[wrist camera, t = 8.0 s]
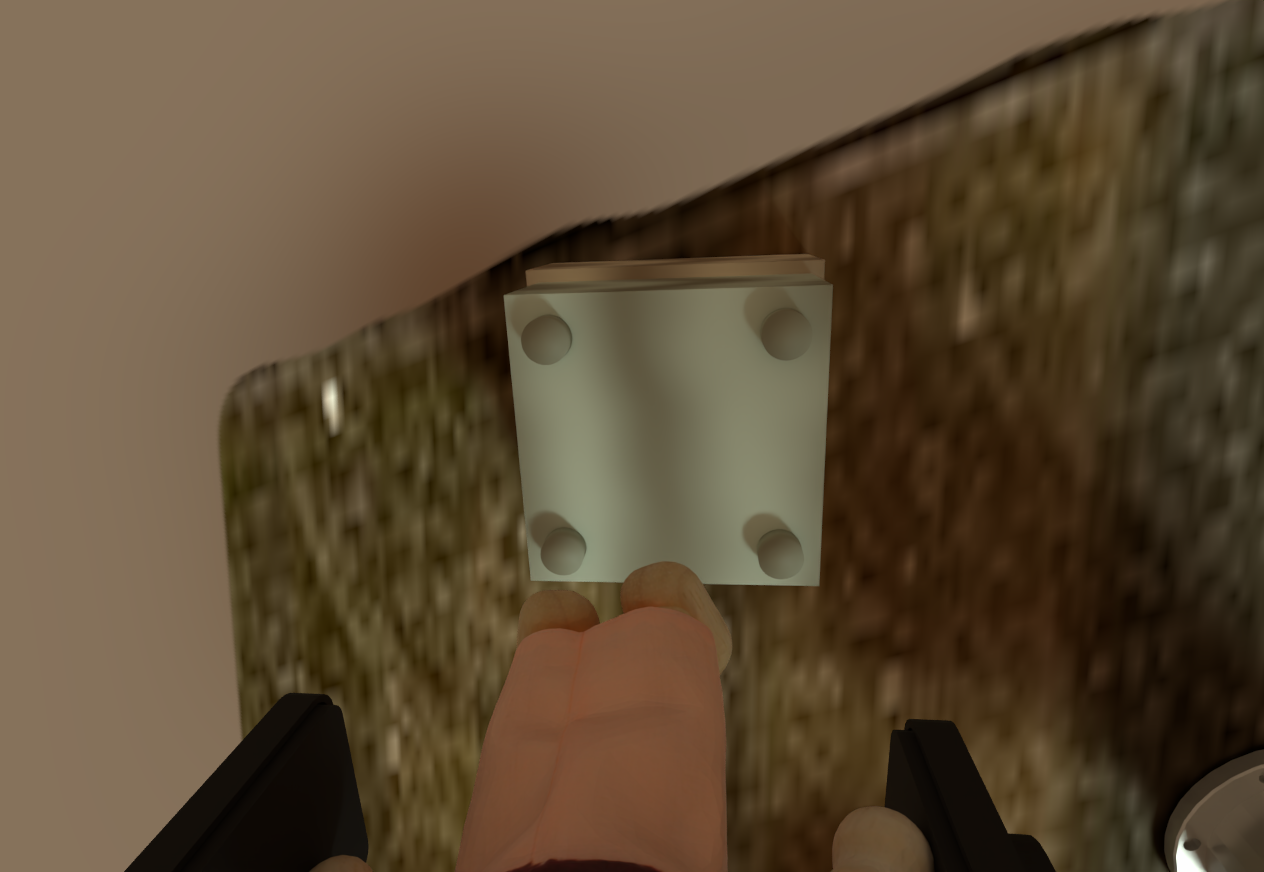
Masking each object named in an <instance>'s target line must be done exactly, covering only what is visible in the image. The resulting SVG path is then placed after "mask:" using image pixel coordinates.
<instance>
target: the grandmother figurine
mask: <svg viewBox="0 0 1264 872" xmlns="http://www.w3.org/2000/svg"><path fill="white" fill-rule="evenodd" d="M620 596H621V605H622V609H623V614H622V615H620V616H618V617H616V618H613V619H611V620H608V621H606V622H603V623H601V624H600V622H599V618H598V615H597V612H596V610H595V608H594V606H593V605H592V604H591V602H590V601H589V600H587V599H586V598H584V597H583V596H581V595H580V594H578V593H576V592H574V591H568V590H546V591H540V592H537V593H535V594H533V595H532V596H531V597H529V598H528V599H527V600H526V602H525V603H524V604H523V606H522V609H521V611H520V616H519V624H518V635H517V647H516V652H515V656H514V659H513V662H512V665H511V668H510V671H509V673H508V676H507V679H506V682H505V684H504V687H503V689H502V692H501V694H500V697H499V699H498V701H497V704H496V706H495V709H494V712H493V715H492V717H491V720H490V723H489V726H488V729H487V732H486V736H485V740H484V744H483V747H482V752H481V757H480V762H479V767H478V771H477V776H476V781H475V785H474V790H473V795H472V799H471V803H470V806H469V810H468V814H467V817H466V821H465V825H464V829H463V834H462V839H461V844H460V849H459V854H458V859H457V864H456V869H455V872H727V807H726V777H725V761H726V726H725V715H724V706H723V693H722V687H721V681H720V675H721V673H722V672H723V671H724V669H725V667H726V665H727V664H728V662H729V659H730V656H731V653H732V638H731V635H730V632H729V630H728V628H727V626H726V624H725V622H724V620H723V618H722V616H721V615H720V613H719V611H718V610H717V608H716V607H715V605H714V603H713V602H712V600H711V598H710V596H709V594H708V592H707V591H706V589H705V587H704V586H703V584H702V582H701V581H700V579H699V578H698V576H697V575H696V574H695V573H694V572H693V571H692V570H690V569H689V568H688V567H686V566H685V565H682V564H679V563H677V562H670V561H661V562H657V563H653V564H650V565H647V566H644V567H641V568H639V569H637V570H634V571H633V572H632V573H631V574H629V576H628V577H627V578H626V579H625V581H624V583H623V586H622V588H621V595H620ZM832 863H833V870H832V871H831V872H935V869H934V858H933V854H932V851H931V847H930V845H929V842H928V841H927V839H926V838H925V836H924V835H923V833H922V832H921V830H920V829H919V828H918V827H917V826H916V825H915V824H914V823H913V822H912V821H911V820H909V819H908V818H907V817H906V816H905V815H903V814H901V813H899V812H897V811H894V810H892V809H889V808H885V807H879V806H871V807H862V808H858V809H856V810H854V811H852V812H851V813H849V814H848V815H847V816H846V817H845V818H844V820H843V821H842V822H841V823H840V825H839V827H838V829H837V831H836V833H835V836H834V840H833V846H832ZM309 872H373V871H372V869H371V868H370V867H369V865H368V864H366V863H365V862H364V861H362V860H361V859H360V858H358V857H354V856H348V855H339V856H334V857H330V858H328V859H327V860H325V861H323V862H321V863H319V864H318V865H316V866H315V867H314V868H313V869H312V870H310V871H309Z"/></svg>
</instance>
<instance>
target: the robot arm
mask: <svg viewBox="0 0 1264 872" xmlns="http://www.w3.org/2000/svg"><path fill="white" fill-rule="evenodd" d="M885 808H889V809H892V810H894V811H897V812H899V813H901V814H903V815H905V816H906V817H907V818H908V819H909V820H911V821H912V822H913V823H914V824H915V825H916V826H917V827H918V828H919V829H920V830H921V832H922V833H923V835H924V836H925V838H926V839H927V841H928V842H929V845H930V847H931V851H932V854H933V858H934V869H935V872H1056V871H1055V869H1054V867H1053V865H1052V864H1051V862H1050V860H1049V858H1048V856H1047V854H1046V853H1045V851H1044V849H1043V848H1042V846H1041V845H1040V843H1039V842H1038V841H1037V840H1036V839H1035V838H1034V837H1032V836H1031V835H1023V834H1008V833H1007V831H1006V828H1005V826H1004V824H1003V822H1002V820H1001V818H1000V816H999V814H998V812H997V810H996V808H995V806H994V804H993V801H992V799H991V797H990V795H989V793H988V791H987V789H986V787H985V785H984V783H983V781H982V779H981V777H980V774H979V772H978V770H977V768H976V766H975V764H974V762H973V760H972V758H971V756H970V754H969V752H968V749H967V747H966V745H965V743H964V741H963V739H962V737H961V735H960V733H959V731H958V729H957V727H956V726H955V724H954V723H953V722H952V721H943V720H919V719H909V720H907V722H906V724H905V729H904V730H893V731H892V733H891V740H890V752H889V763H888V775H887V786H886V797H885ZM1164 852H1165V856H1166V861H1167V865H1168V868H1169V869H1170V871H1171V872H1264V749H1262V750H1258V751H1254V752H1252V753H1249V754H1246V755H1244V756H1241V757H1239V758H1236V759H1233V760H1231V761H1229V762H1227V763H1226V764H1224V765H1222V766H1220V767H1218V768H1217V769H1215V770H1213V771H1211V772H1210V773H1209V774H1207V775H1206V776H1205V777H1204V778H1202V779H1201V780H1200V781H1198V782H1197V783H1196V784H1195V785H1193V787H1192V788H1191V789H1190V790H1189V791H1188V792H1187V793H1186V794H1185V795H1184V796H1183V798H1182V799H1181V800H1180V801H1179V803H1178V805H1177V806H1176V808H1175V810H1174V811H1173V813H1172V815H1171V816H1170V819H1169V822H1168V825H1167V829H1166V832H1165V841H1164ZM339 855H348V856H354V857H358V858H360V859H361V860H362V861H364V862H365V863H366V860H367V855H368V838H367V833H366V828H365V823H364V818H363V813H362V808H361V804H360V799H359V794H358V789H357V784H356V779H355V774H354V769H353V764H352V759H351V754H350V749H349V744H348V739H347V734H346V729H345V724H344V719H343V714H342V711H341V708H340V707H339V706H337V705H333V702H332V699H331V698H330V697H329V696H328V695H325V694H306V693H289V694H286V695H284V696H283V697H282V698H281V699H280V700H279V701H278V702H277V703H276V704H275V705H274V706H273V707H272V708H271V710H270V711H269V712H268V713H267V714H266V715H265V716H264V717H263V718H262V719H261V721H260V722H259V723H258V724H257V725H256V726H255V727H254V728H253V729H252V731H251V732H250V733H249V734H248V735H247V736H246V737H245V738H244V739H243V741H242V742H241V743H240V744H239V745H238V746H237V747H236V748H235V749H234V751H233V752H232V753H231V754H230V755H229V756H228V757H227V758H226V759H225V761H224V762H223V763H222V764H221V765H220V766H219V767H218V768H217V770H216V771H215V772H214V773H213V774H212V775H211V776H210V777H209V778H208V779H207V780H206V781H205V783H204V784H203V785H202V786H201V787H200V788H199V789H198V790H197V792H196V793H195V794H194V795H193V796H192V797H191V798H190V799H189V800H188V801H187V803H186V804H185V805H184V806H183V807H182V808H181V809H180V810H179V811H178V813H177V814H176V815H175V816H174V817H173V818H172V819H171V820H170V821H169V823H168V824H167V825H166V826H165V827H164V828H163V829H162V830H161V831H160V832H159V834H158V835H157V836H156V837H155V838H154V839H153V840H152V841H151V843H149V845H148V846H147V847H146V848H145V849H144V850H143V851H142V852H141V854H140V855H139V856H138V857H137V858H136V859H135V860H134V861H133V862H132V863H131V865H130V866H129V867H128V868H127V869H126V870H125V871H124V872H309V871H310V870H312V869H313V868H314V867H315V866H316V865H318V864H319V863H321V862H323V861H325V860H327V859H328V858H330V857H334V856H339Z"/></svg>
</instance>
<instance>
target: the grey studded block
mask: <svg viewBox="0 0 1264 872" xmlns="http://www.w3.org/2000/svg"><path fill="white" fill-rule="evenodd" d="M824 271H825V260H824V259H821V258H819V257H816V256H813V255H810V254H786V255H759V256H732V257H705V258H678V259H651V260H623V261H596V262H569V263H551V264H547V265H544V266H540V267H536V268H533V269H529V270H526V281H527V287H525V288H522V289H519V290H516V291H514V292H511V293H508V294H506V295H504V305H505V316H506V326H507V336H508V347H509V357H510V368H511V378H512V388H513V399H514V409H515V420H516V430H517V440H518V451H519V461H520V472H521V482H522V492H523V503H524V513H525V524H526V534H527V544H528V555H529V565H530V576H531V581H580V582H624V581H625V579H626V578H627V577H628V576H629V574H631V573H632V572H633V571H634V570H637V569H639V568H641V567H644V566H647V565H650V564H653V563H657V562H661V561H670V562H677V563H679V564H682V565H685V566H686V567H688V568H689V569H690V570H692V571H693V572H694V573H695V574H696V575H697V576H698V578H699V579H700V581H701V582H702V584H738V585H791V586H819V578H820V557H821V535H822V513H823V491H824V469H825V448H826V426H827V404H828V382H829V361H830V339H831V317H832V295H833V285H832V284H830V283H829V282H827V281H825V280H824Z"/></svg>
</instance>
